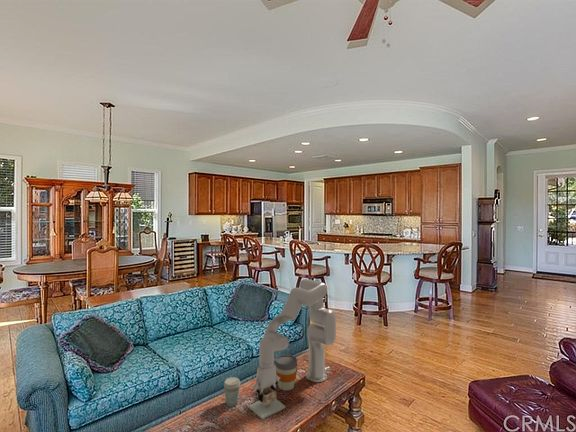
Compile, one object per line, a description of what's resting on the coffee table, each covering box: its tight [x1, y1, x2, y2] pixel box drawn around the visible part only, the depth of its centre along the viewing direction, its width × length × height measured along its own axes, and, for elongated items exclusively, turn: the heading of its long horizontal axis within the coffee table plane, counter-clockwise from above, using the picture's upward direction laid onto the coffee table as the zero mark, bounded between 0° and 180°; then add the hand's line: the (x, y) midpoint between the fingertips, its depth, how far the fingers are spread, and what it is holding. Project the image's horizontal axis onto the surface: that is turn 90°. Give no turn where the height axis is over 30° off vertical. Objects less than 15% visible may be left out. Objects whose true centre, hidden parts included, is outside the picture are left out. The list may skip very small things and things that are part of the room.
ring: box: [256, 386, 277, 405], centre depth 163 cm, size 7×7×4 cm
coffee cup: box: [223, 376, 241, 408], centre depth 166 cm, size 8×8×12 cm
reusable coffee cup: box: [274, 354, 298, 391], centre depth 183 cm, size 13×13×15 cm
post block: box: [248, 398, 286, 420], centre depth 163 cm, size 14×12×6 cm
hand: (266, 397), depth 163 cm, fingers closed on ring, 7 cm apart
